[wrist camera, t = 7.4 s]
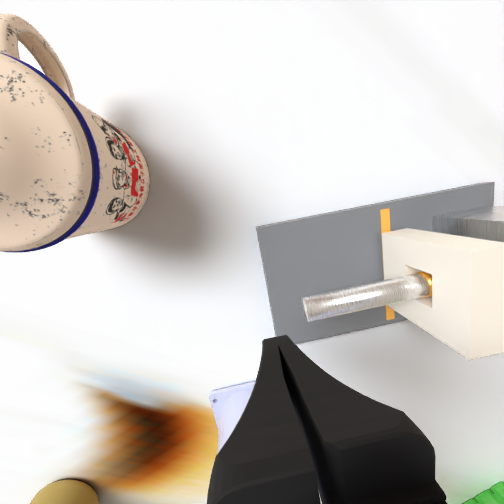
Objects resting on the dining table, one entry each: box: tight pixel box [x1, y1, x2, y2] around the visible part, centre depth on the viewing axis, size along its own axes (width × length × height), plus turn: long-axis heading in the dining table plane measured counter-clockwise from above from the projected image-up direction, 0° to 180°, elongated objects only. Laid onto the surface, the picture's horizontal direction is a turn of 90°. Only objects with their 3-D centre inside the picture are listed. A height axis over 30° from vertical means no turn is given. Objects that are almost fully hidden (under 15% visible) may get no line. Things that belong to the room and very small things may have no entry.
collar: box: [382, 228, 504, 360], centre depth 18 cm, size 7×2×8 cm, turn 10°
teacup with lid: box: [0, 14, 150, 252], centre depth 13 cm, size 12×9×12 cm
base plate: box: [256, 182, 494, 344], centre depth 22 cm, size 12×22×1 cm, turn 100°
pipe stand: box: [301, 206, 504, 322], centre depth 17 cm, size 8×19×10 cm, turn 100°
